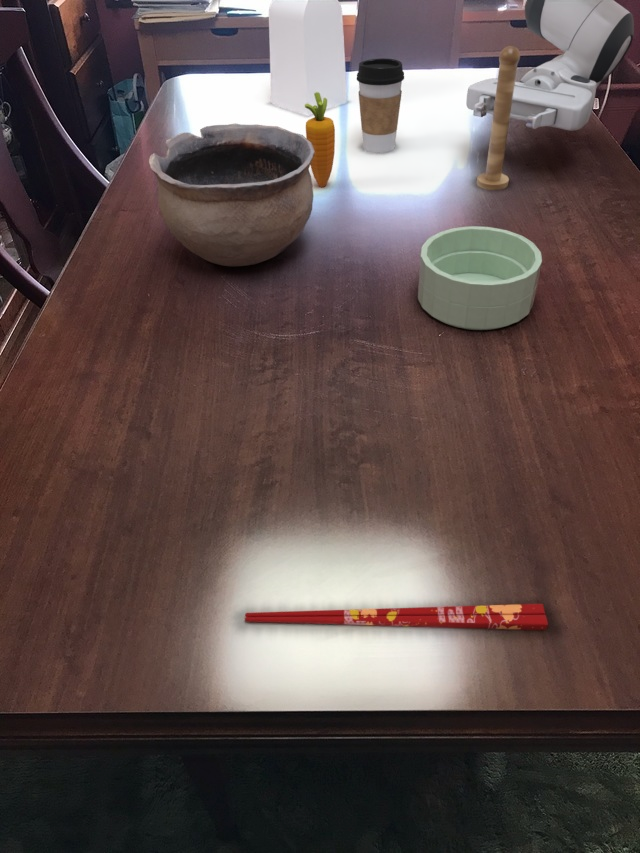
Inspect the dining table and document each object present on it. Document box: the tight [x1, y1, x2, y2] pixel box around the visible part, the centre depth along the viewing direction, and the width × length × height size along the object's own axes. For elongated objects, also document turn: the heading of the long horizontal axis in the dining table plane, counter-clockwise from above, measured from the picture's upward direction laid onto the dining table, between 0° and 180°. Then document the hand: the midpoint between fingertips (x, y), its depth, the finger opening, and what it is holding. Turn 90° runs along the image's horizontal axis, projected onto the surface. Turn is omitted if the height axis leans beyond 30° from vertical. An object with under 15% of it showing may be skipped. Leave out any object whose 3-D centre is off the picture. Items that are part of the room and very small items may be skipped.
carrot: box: [305, 92, 336, 188], centre depth 112 cm, size 5×5×15 cm
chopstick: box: [244, 603, 549, 631], centre depth 55 cm, size 2×24×1 cm, turn 89°
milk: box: [268, 0, 348, 117], centre depth 141 cm, size 12×12×26 cm
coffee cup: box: [356, 57, 405, 154], centre depth 124 cm, size 8×8×15 cm
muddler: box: [476, 45, 521, 191], centre depth 109 cm, size 5×5×21 cm
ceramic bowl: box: [148, 123, 315, 267], centre depth 97 cm, size 22×22×15 cm
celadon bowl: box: [417, 225, 543, 331], centre depth 87 cm, size 15×15×7 cm
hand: (503, 117), depth 109 cm, fingers open, 8 cm apart
